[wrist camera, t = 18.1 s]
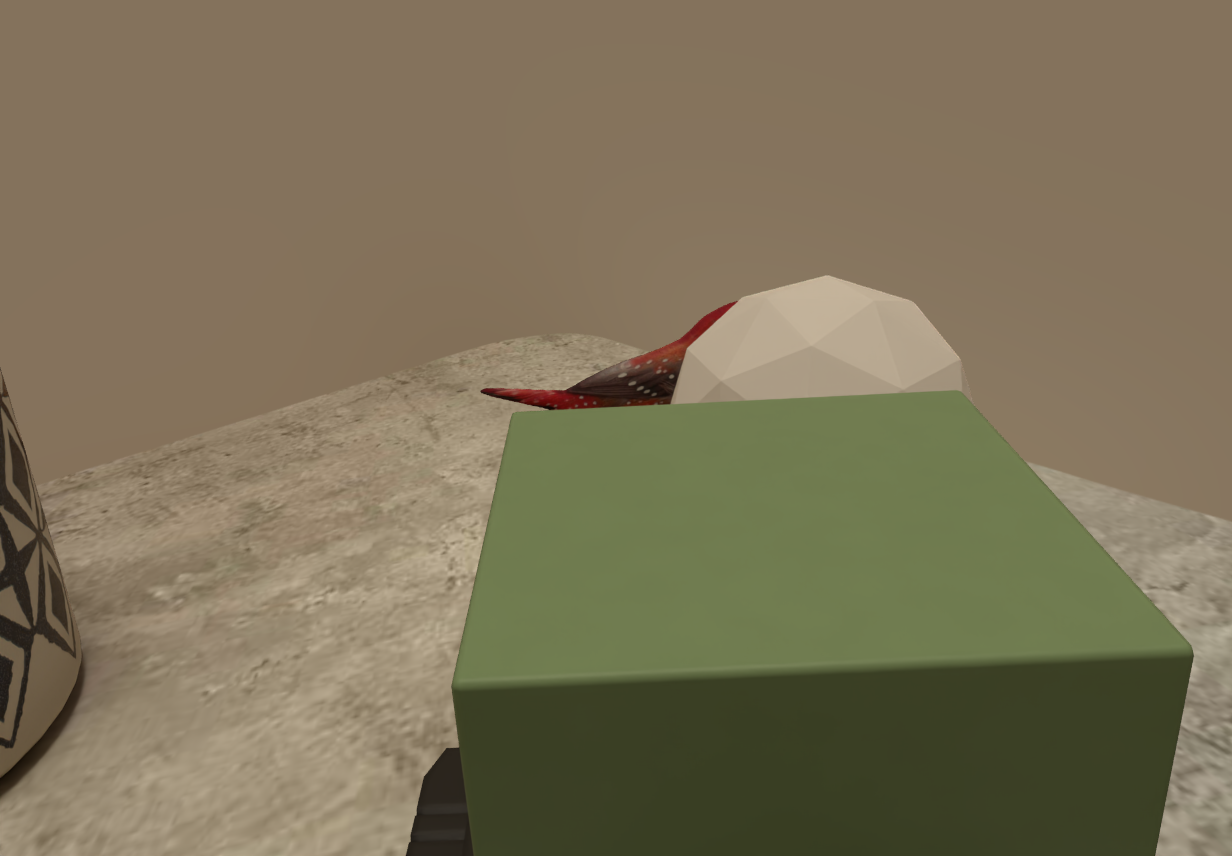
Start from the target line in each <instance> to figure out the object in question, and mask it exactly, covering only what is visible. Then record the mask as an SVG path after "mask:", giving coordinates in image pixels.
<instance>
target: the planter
mask: <svg viewBox="0 0 1232 856" xmlns="http://www.w3.org/2000/svg"><path fill="white" fill-rule="evenodd" d="M81 659H82V653H81V641H80V635H79V631H78V628H77V624H76V621H75V617H74V614H73V610H72V607H71V603H70V600H69V596H68V593H67V589H66V586H65V583H64V579H63V576H62V572H61V569H60V566H59V562H58V559H57V556H56V552H55V549H54V546H53V542H52V539H51V535H50V532H49V529H48V525H47V522H46V519H45V515H44V512H43V509H42V505H41V502H40V499H39V495H38V492H37V488H36V485H35V482H34V478H33V475H32V472H31V468H30V465H29V462H28V458H27V455H26V451H25V448H24V445H23V441H22V438H21V435H20V432H19V428H18V425H17V422H16V418H15V415H14V412H13V408H12V405H11V402H10V399H9V395H8V392H7V388H6V385H5V382H4V379H3V375H2V372H1V369H0V778H1V777H2V776H3V775H4V774H5V773H7V772H8V771H9V770H10V769H11V768H12V767H13V766H14V765H15V764H16V763H17V762H18V761H19V760H20V759H21V758H22V757H23V756H24V755H25V754H26V753H27V752H28V751H29V750H30V749H31V748H32V747H33V746H34V745H35V744H36V743H37V741H38V740H39V739H40V738H41V737H42V736H43V735H44V733H45V732H46V731H47V729H48V728H49V726H50V725H51V724H52V722H53V721H54V720H55V718H56V717H57V716H58V714H59V713H60V712H61V710H62V709H63V707H64V705H65V703H66V701H67V699H68V697H69V695H70V693H71V691H72V689H73V687H74V685H75V683H76V680H77V676H78V672H79V667H80V663H81Z"/></svg>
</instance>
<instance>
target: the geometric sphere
mask: <svg viewBox="0 0 1232 856" xmlns="http://www.w3.org/2000/svg"><path fill="white" fill-rule="evenodd" d="M950 390H958V391H961V392H962V393H963V394H964V395H965V396H966V397H967V398H968V399H969V401H970V402H971V403H972V404H973V405H974V403H973V400H972V396H971V393H970V390H969V386H968V383H967V380H966V376H965V373H964V369H963V366H962V363H961V360H960V358H959V357H958V355H957V354H956V353H955V352H954V351H953V349H952V348H951V347H950V346H949V344H948V343H947V342H946V341H945V340H944V338H943V337H942V336H941V335H940V333H939V332H938V331H937V330H936V329H935V327H934V326H933V325H932V324H931V323H930V321H929V320H928V319H927V318H926V317H925V315H924V314H923V313H922V312H921V310H920V309H919V308H918V307H917V306H916V304H915V303H914V302H913V301H910V300H907V299H904V298H900V297H897V296H894V295H891V294H887V293H884V292H881V291H877V290H874V289H871V288H868V287H864V286H861V285H858V284H855V283H851V282H848V281H845V280H841V279H838V278H835V277H831V276H828V275H827V276H823V277H819V278H815V279H811V280H807V281H803V282H800V283H795V284H791V285H788V286H784V287H780V288H776V289H772V290H768V291H765V292H760V293H757V294H753V295H749V296H745V297H742V298H741V299H740V300H739V301H738V302H737V303H736V304H735V305H734V306H732V307H731V308H730V309H729V310H728V311H727V312H726V313H725V314H724V315H723V316H722V317H721V318H719V319H718V320H717V321H716V322H715V323H714V324H713V325H712V326H711V327H710V328H709V329H707V330H706V331H705V332H704V333H703V334H702V335H701V336H700V337H699V338H698V339H697V340H696V341H694V342H693V343H692V344H691V345H690V346H689V347H688V348H687V350H686V353H685V357H684V360H683V363H682V367H681V370H680V373H679V377H678V380H677V384H676V387H675V390H674V394H673V397H672V400H671V404H687V403H708V402H728V401H748V400H768V399H789V398H809V397H829V396H849V395H869V394H890V393H910V392H930V391H950Z"/></svg>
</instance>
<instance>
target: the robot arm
mask: <svg viewBox="0 0 1232 856" xmlns="http://www.w3.org/2000/svg"><path fill="white" fill-rule="evenodd" d="M406 856H474V854H473V846H472V839H471V831H470V824H469V816H468V809H467V801H466V793H465V786H464V778H463V771H462V763H461V756H460V748H446V750H445V751H444V752H443V753H442V755H441V756H440V757H439V759H438V760H437V761H436V762H435V764H434V765H433V766H432V767H431V769H430V770H429V771H428V773H427V774H426V775H425V776H424V779H423V784H422V788H421V792H420V797H419V801H418V806H417V816H415V819H414V823H413V827H412V832H411V842H409V845H408V849H407V854H406Z"/></svg>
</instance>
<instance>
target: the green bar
mask: <svg viewBox="0 0 1232 856" xmlns="http://www.w3.org/2000/svg"><path fill="white" fill-rule="evenodd" d="M1193 657H1194V654H1193V650H1192V647H1191V645H1190V643H1189V642H1188V641H1187V640H1186V639H1185V638H1184V637H1183V636H1182V635H1181V634H1180V632H1179V631H1178V630H1177V629H1176V628H1175V627H1174V626H1173V625H1172V624H1171V622H1170V621H1169V620H1168V619H1167V618H1166V617H1165V616H1164V615H1163V614H1162V613H1161V611H1160V610H1159V609H1158V608H1157V607H1156V606H1155V605H1154V604H1153V603H1152V601H1151V600H1150V599H1149V598H1148V597H1147V596H1146V595H1145V594H1144V593H1143V592H1142V590H1141V589H1140V588H1139V587H1138V586H1137V585H1136V584H1135V583H1134V582H1133V581H1132V579H1131V578H1130V577H1129V576H1128V575H1127V574H1126V573H1125V572H1124V571H1123V569H1122V568H1121V567H1120V566H1119V565H1118V564H1117V563H1116V562H1115V561H1114V560H1113V558H1112V557H1111V556H1110V555H1109V554H1108V553H1107V552H1106V551H1105V550H1104V548H1103V547H1102V546H1101V545H1100V544H1099V543H1098V542H1097V541H1096V540H1095V539H1094V537H1093V536H1092V535H1091V534H1090V533H1089V532H1088V531H1087V530H1086V529H1085V528H1084V526H1083V525H1082V524H1081V523H1080V522H1079V521H1078V520H1077V519H1076V518H1075V516H1074V515H1073V514H1072V513H1071V512H1070V511H1069V510H1068V509H1067V508H1066V507H1065V505H1064V504H1063V503H1062V502H1061V501H1060V500H1059V499H1058V498H1057V497H1056V496H1055V494H1054V493H1053V492H1052V491H1051V490H1050V489H1049V488H1048V487H1047V486H1046V484H1045V483H1044V482H1043V481H1042V480H1041V479H1040V478H1039V477H1038V476H1037V475H1036V473H1035V472H1034V471H1033V470H1032V469H1031V468H1030V467H1029V466H1028V465H1027V463H1026V462H1025V461H1024V460H1023V459H1022V458H1021V457H1020V456H1019V455H1018V454H1017V452H1016V451H1015V450H1014V449H1013V448H1012V447H1011V446H1010V445H1009V444H1008V443H1007V441H1006V440H1005V439H1004V438H1003V437H1002V436H1001V435H1000V434H999V433H998V431H997V430H996V429H995V428H994V427H993V426H992V425H991V424H990V423H989V422H988V420H987V419H986V418H985V417H984V416H983V415H982V414H981V413H980V412H979V411H978V409H977V408H976V407H975V406H974V405H973V404H972V403H971V402H970V401H969V399H968V398H967V397H966V396H965V395H964V394H963V393H962V392H961V391H958V390H950V391H930V392H910V393H890V394H869V395H849V396H829V397H809V398H789V399H768V400H748V401H728V402H708V403H687V404H667V405H647V406H627V407H607V408H586V409H566V410H546V411H526V412H515V413H513V414H512V416H511V420H510V424H509V429H508V433H507V438H506V442H505V447H504V451H503V456H502V461H501V465H500V470H499V474H498V479H497V483H496V488H495V492H494V497H493V501H492V506H491V510H490V515H489V519H488V524H487V528H486V533H485V537H484V542H483V546H482V551H481V555H480V560H479V564H478V569H477V573H476V578H475V582H474V587H473V591H472V596H471V600H470V605H469V609H468V614H467V618H466V623H465V627H464V632H463V636H462V641H461V645H460V650H459V654H458V659H457V663H456V668H455V672H454V677H453V681H452V686H451V687H452V695H453V703H454V710H455V718H456V725H457V733H458V740H459V748H460V756H461V763H462V771H463V778H464V786H465V793H466V801H467V809H468V816H469V824H470V831H471V839H472V846H473V854H474V856H1155V853H1156V848H1157V843H1158V837H1159V832H1160V827H1161V822H1162V817H1163V812H1164V807H1165V801H1166V796H1167V791H1168V786H1169V781H1170V776H1171V771H1172V765H1173V760H1174V755H1175V750H1176V745H1177V740H1178V735H1179V729H1180V724H1181V719H1182V714H1183V709H1184V704H1185V699H1186V693H1187V688H1188V683H1189V678H1190V673H1191V668H1192V663H1193Z"/></svg>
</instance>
